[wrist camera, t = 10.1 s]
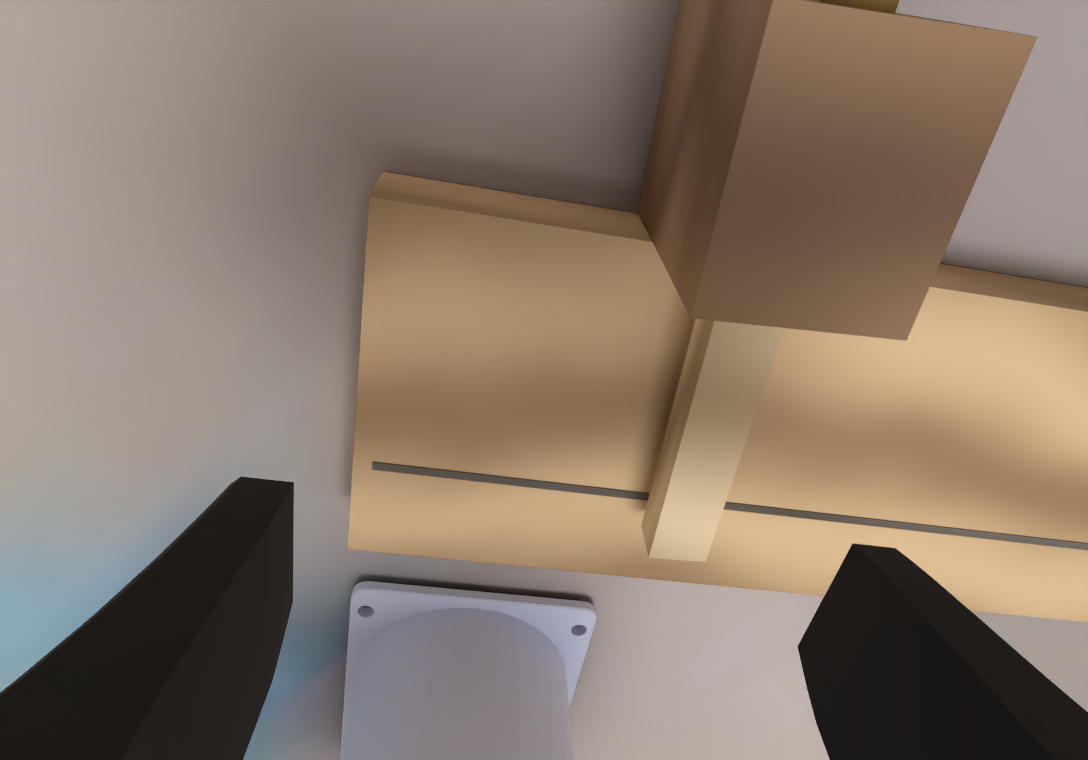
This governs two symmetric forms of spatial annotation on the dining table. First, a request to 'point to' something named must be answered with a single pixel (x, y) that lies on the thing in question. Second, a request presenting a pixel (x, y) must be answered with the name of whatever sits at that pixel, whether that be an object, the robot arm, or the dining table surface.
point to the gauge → (801, 201)
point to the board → (647, 399)
